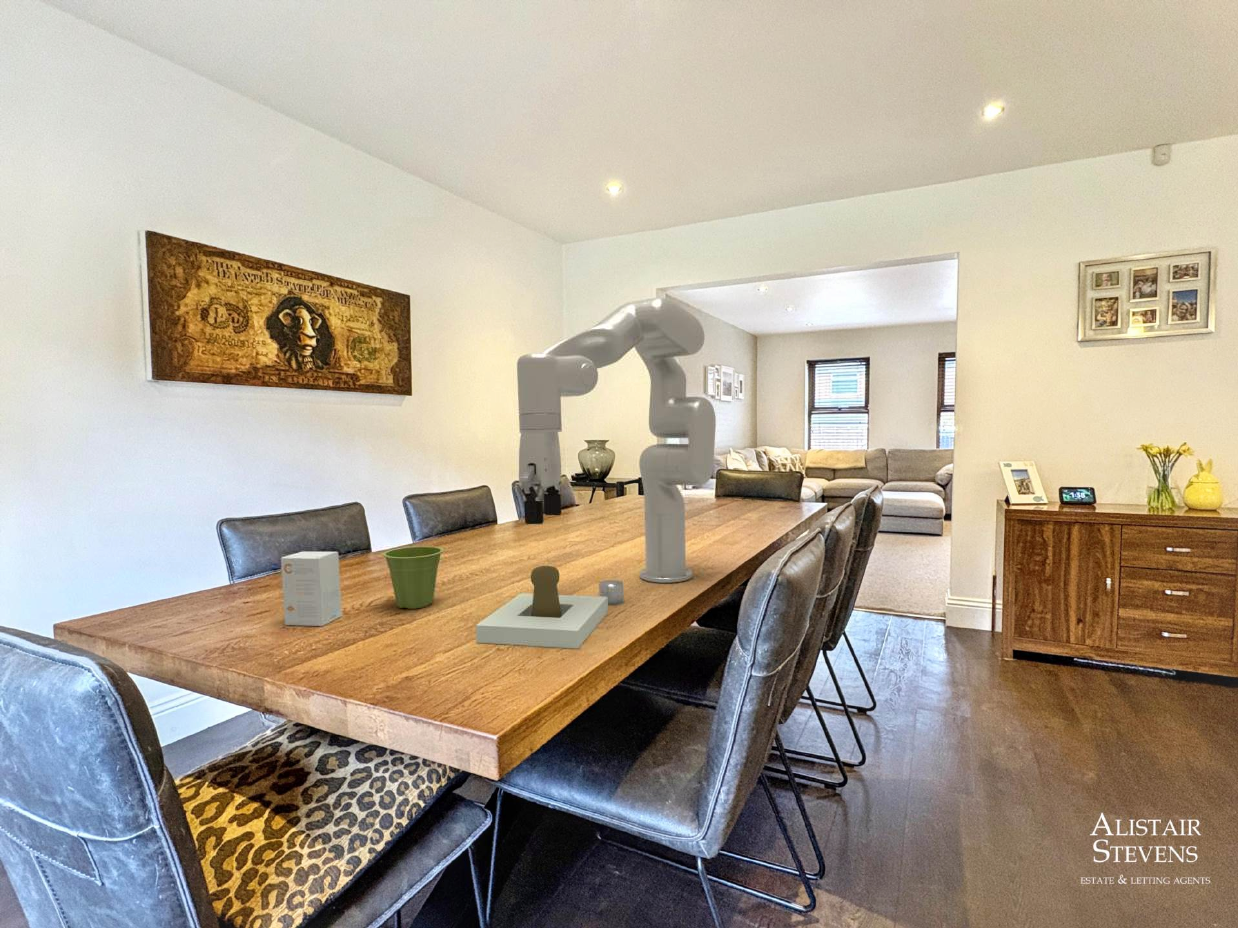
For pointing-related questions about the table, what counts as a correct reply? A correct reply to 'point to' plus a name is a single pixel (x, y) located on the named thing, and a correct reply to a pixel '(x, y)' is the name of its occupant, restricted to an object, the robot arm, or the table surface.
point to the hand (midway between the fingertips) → (544, 519)
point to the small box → (311, 588)
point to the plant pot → (413, 574)
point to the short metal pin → (612, 591)
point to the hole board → (543, 622)
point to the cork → (545, 592)
